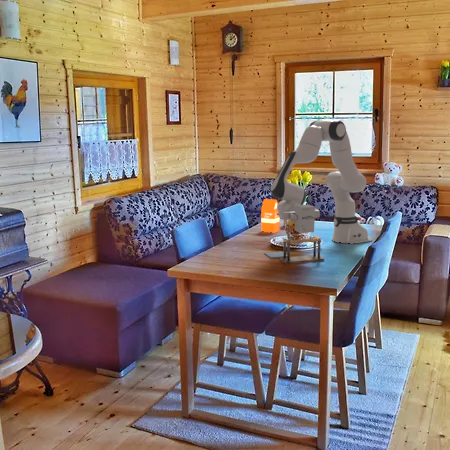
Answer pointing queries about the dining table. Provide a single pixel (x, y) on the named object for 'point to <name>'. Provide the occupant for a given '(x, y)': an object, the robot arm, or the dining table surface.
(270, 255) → the mat
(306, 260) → the brown board
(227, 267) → the dining table surface
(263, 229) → the orange juice
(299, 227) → the supplement box
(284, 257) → the wooden post stand
